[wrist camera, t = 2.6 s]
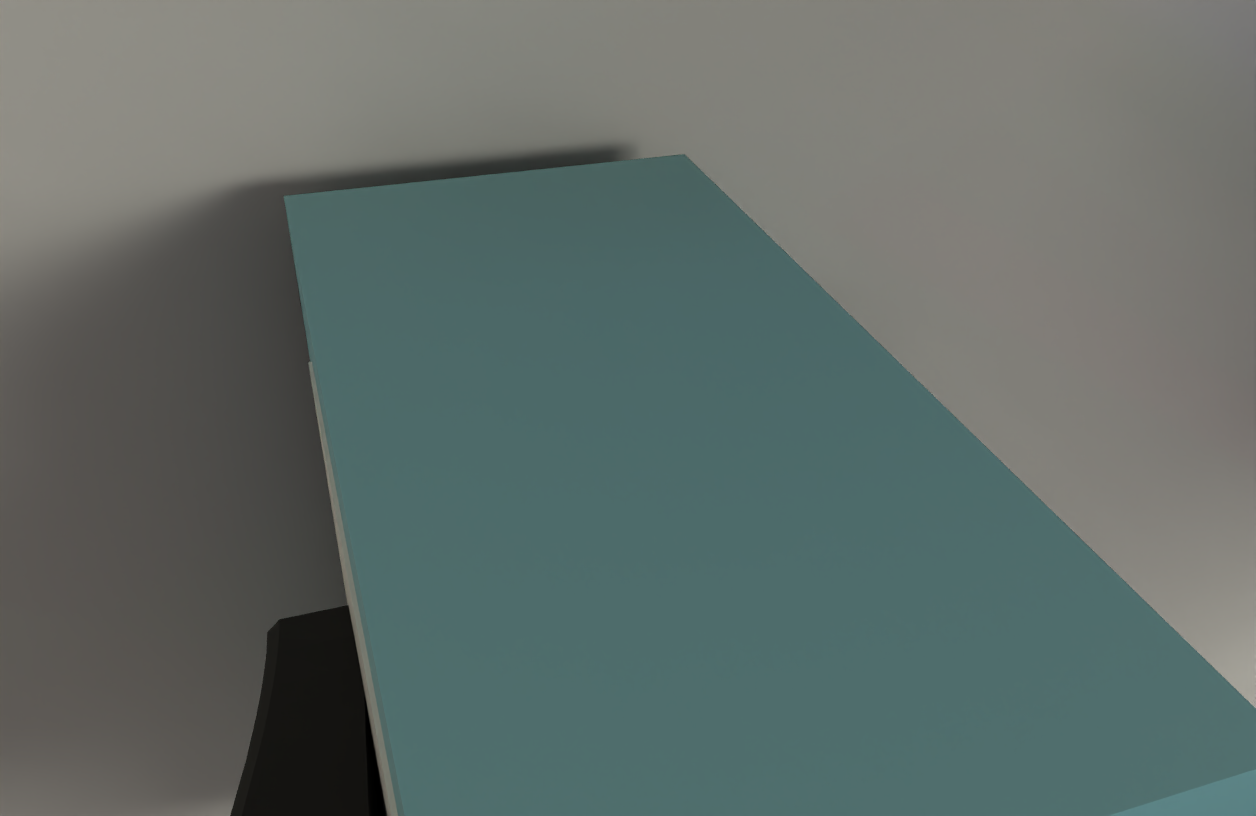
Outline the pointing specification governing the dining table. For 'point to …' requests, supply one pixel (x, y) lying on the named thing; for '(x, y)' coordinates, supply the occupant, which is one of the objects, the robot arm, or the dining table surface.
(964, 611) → the teal block
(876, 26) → the dining table surface
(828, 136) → the dining table surface
